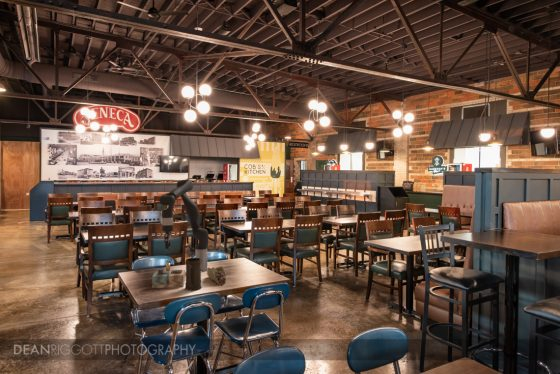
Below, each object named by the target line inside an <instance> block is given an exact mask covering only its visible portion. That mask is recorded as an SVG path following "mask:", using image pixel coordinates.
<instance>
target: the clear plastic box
mask: <svg viewBox="0 0 560 374" xmlns="http://www.w3.org/2000/svg"><path fill="white" fill-rule="evenodd" d="M163 270H164V268H163V267H162V268H158V269H157V270H156V271H154V273H153V275H152V276H151V280H152V281H151V283H152V284H151V286H152V287H151V288H152V289H164V288H167V289H168V288H169V289H170V288H183V287H185V286H184V285H185V283H186V269H183V270H182V269H175V270H174V269H173V270H170V273H163ZM157 271H158V274H157Z"/></svg>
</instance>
